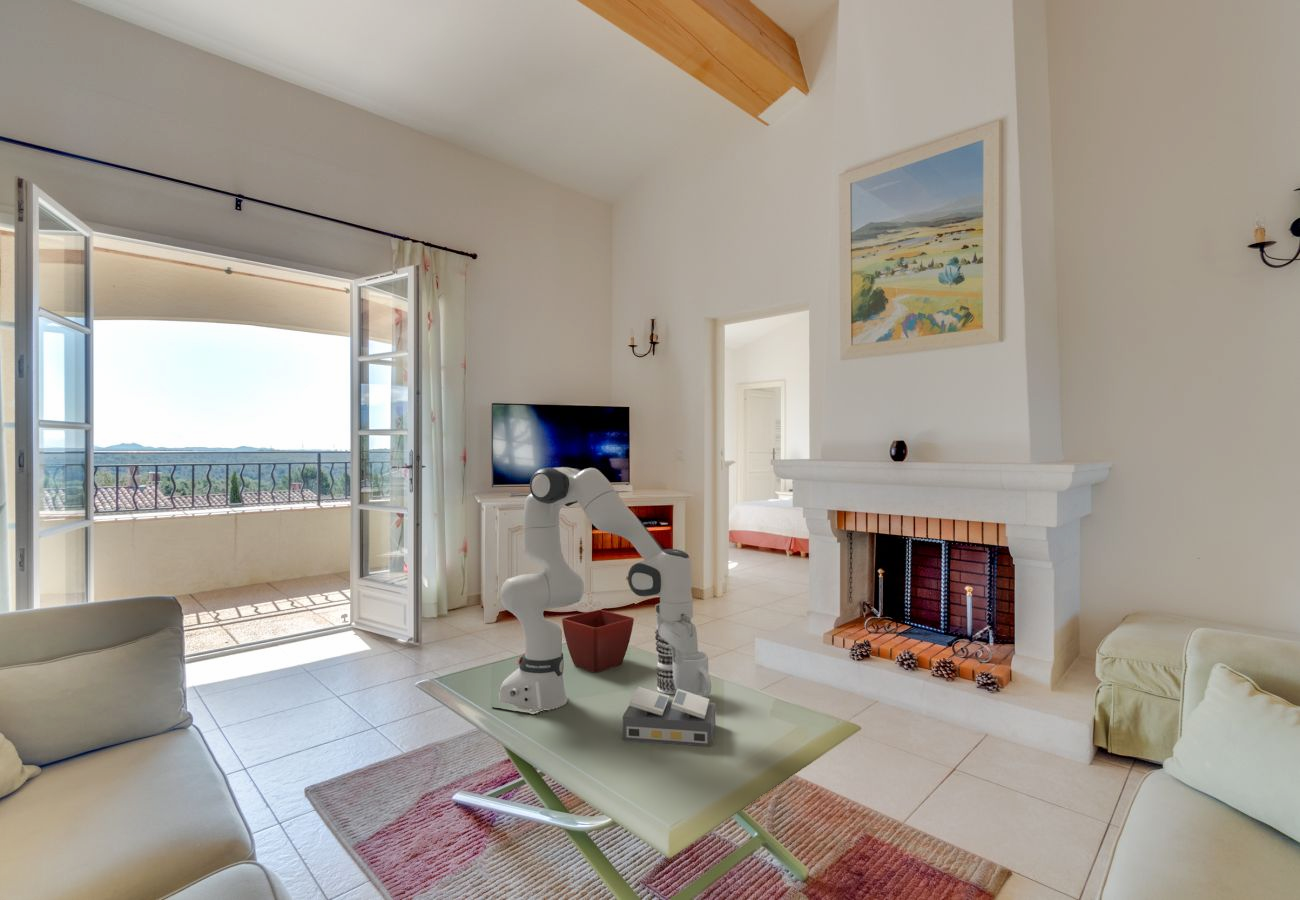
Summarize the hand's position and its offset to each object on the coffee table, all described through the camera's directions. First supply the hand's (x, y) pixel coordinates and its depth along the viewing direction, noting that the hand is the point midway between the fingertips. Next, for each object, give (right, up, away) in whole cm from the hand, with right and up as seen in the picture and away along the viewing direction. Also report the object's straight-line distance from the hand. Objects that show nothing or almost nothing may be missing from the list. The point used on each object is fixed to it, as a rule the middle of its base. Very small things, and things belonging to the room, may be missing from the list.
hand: (677, 663), depth 160 cm
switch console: (-2, -19, 0) cm, 19 cm away
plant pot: (-26, -21, +55) cm, 65 cm away
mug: (+6, -19, +23) cm, 30 cm away
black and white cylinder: (-1, -20, +31) cm, 37 cm away
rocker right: (+3, -10, -1) cm, 11 cm away
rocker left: (-7, -11, +1) cm, 13 cm away
